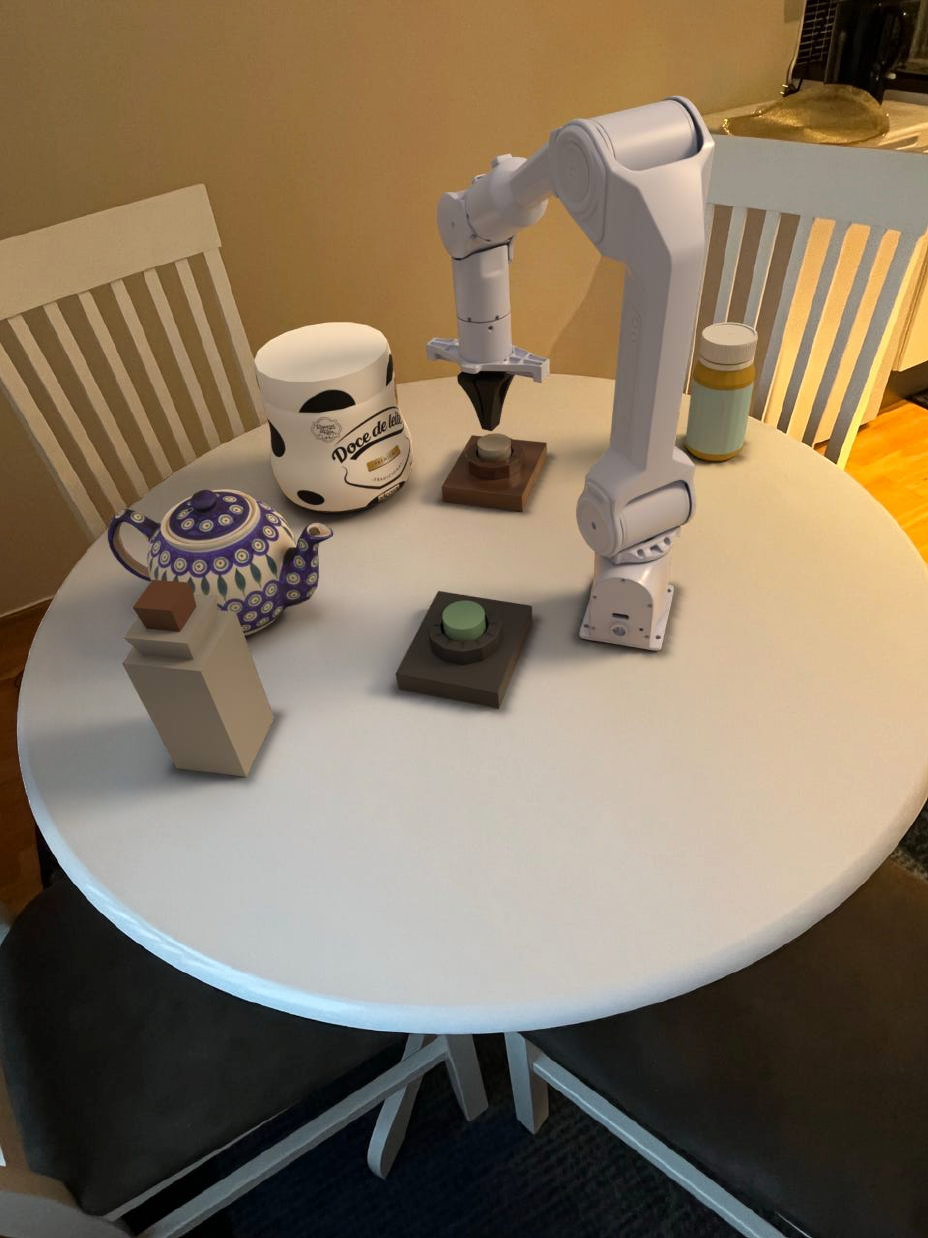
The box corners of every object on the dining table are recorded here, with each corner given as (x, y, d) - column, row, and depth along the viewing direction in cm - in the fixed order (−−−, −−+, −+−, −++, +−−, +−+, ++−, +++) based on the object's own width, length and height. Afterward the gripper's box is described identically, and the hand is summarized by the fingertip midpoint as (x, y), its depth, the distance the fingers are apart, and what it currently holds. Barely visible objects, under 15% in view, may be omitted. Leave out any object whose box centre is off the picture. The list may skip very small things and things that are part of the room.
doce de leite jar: (404, 526, 98) (382, 385, 86) (264, 526, 100) (222, 388, 88) (426, 448, 110) (409, 315, 98) (300, 449, 113) (268, 319, 101)
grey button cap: (506, 464, 99) (505, 452, 98) (474, 461, 100) (473, 448, 99) (515, 447, 102) (514, 434, 101) (484, 444, 103) (483, 431, 102)
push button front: (499, 708, 76) (496, 679, 73) (398, 689, 79) (392, 659, 76) (532, 621, 84) (531, 591, 82) (440, 606, 87) (436, 577, 84)
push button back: (522, 511, 98) (521, 483, 95) (442, 501, 101) (439, 473, 98) (547, 457, 106) (546, 429, 104) (472, 449, 109) (470, 422, 106)
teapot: (103, 641, 87) (44, 528, 77) (173, 553, 98) (128, 443, 88) (324, 671, 81) (290, 552, 71) (373, 573, 92) (349, 458, 82)
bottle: (748, 461, 102) (768, 344, 92) (690, 464, 102) (704, 349, 92) (735, 432, 107) (753, 318, 97) (680, 435, 108) (693, 322, 97)
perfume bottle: (246, 777, 73) (182, 628, 61) (176, 768, 74) (100, 621, 62) (274, 718, 78) (220, 569, 65) (208, 710, 79) (143, 563, 67)
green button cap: (478, 645, 77) (477, 632, 76) (438, 638, 78) (436, 625, 77) (491, 617, 80) (489, 603, 79) (451, 610, 81) (450, 597, 80)
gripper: (405, 316, 88) (420, 429, 97) (526, 338, 82) (529, 456, 91) (440, 291, 92) (451, 402, 102) (558, 310, 86) (558, 426, 95)
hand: (490, 426), depth 97 cm, fingers closed
